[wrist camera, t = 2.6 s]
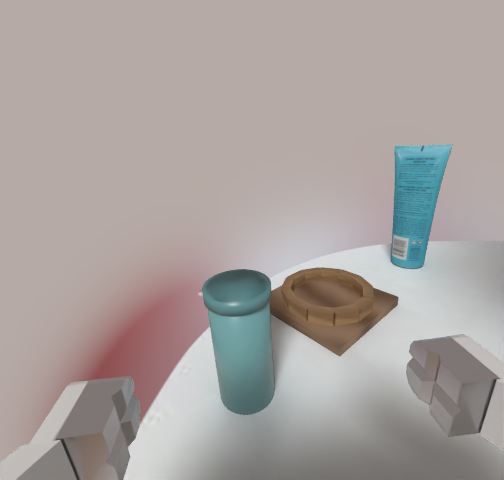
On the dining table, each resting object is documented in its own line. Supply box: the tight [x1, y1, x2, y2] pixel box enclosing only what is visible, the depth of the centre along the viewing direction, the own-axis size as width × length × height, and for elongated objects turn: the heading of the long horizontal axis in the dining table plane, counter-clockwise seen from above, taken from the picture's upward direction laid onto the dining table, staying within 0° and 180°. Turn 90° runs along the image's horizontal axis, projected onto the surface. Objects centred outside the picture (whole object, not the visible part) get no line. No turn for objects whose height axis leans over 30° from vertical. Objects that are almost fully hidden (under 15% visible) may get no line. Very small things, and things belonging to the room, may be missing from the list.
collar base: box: [269, 268, 398, 356], centre depth 36 cm, size 13×13×3 cm
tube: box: [391, 144, 453, 268], centre depth 44 cm, size 7×5×19 cm, turn 53°
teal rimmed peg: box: [202, 269, 274, 415], centre depth 23 cm, size 5×5×11 cm
